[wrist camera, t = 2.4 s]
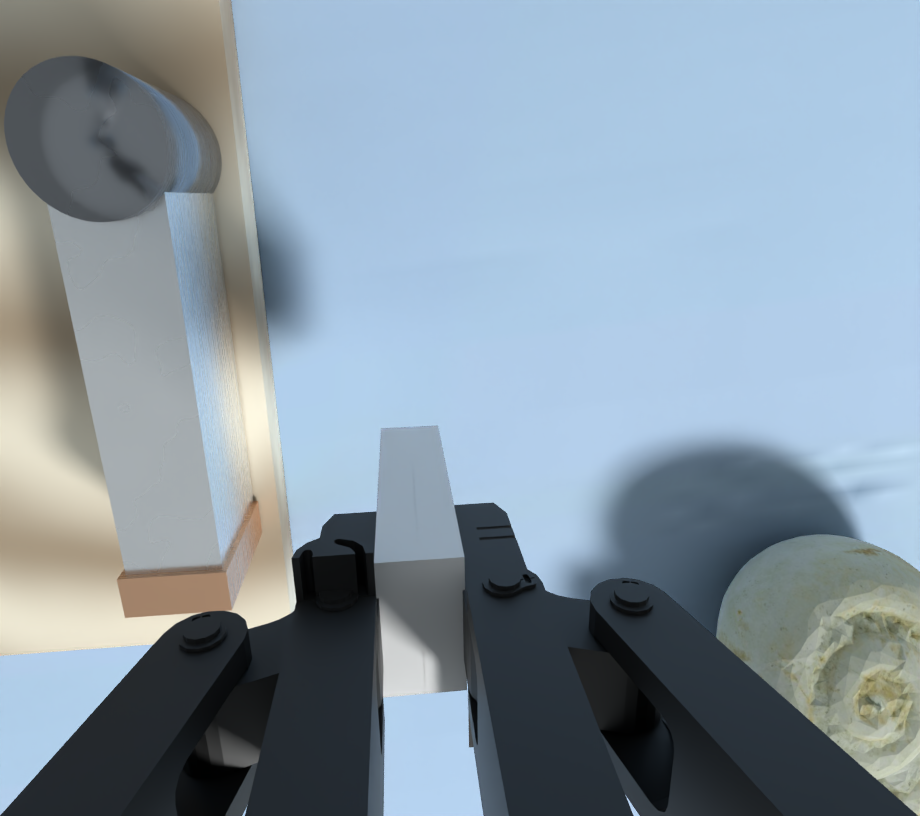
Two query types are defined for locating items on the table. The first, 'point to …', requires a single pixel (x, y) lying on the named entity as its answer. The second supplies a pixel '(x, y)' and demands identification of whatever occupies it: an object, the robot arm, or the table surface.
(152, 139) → the bar
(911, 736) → the seashell
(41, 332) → the plate
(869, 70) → the table surface
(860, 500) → the table surface
